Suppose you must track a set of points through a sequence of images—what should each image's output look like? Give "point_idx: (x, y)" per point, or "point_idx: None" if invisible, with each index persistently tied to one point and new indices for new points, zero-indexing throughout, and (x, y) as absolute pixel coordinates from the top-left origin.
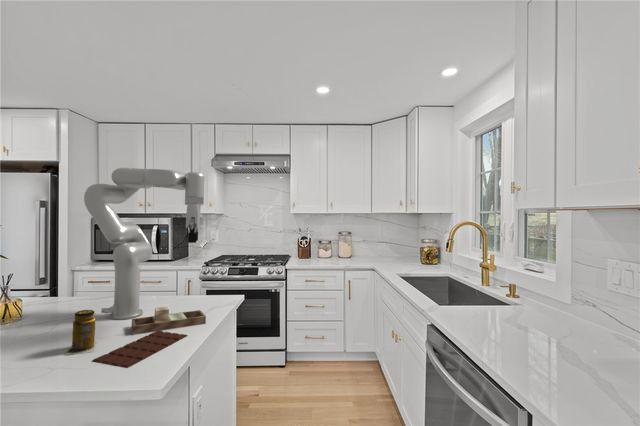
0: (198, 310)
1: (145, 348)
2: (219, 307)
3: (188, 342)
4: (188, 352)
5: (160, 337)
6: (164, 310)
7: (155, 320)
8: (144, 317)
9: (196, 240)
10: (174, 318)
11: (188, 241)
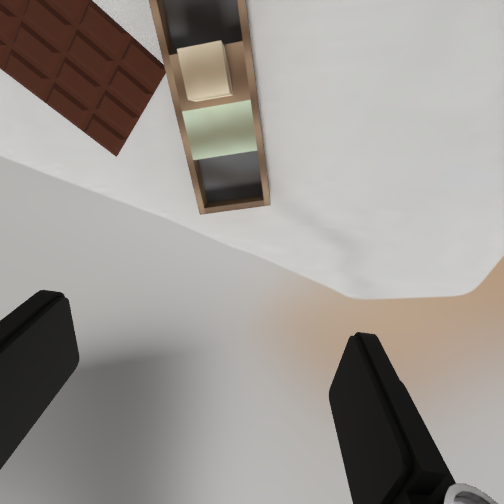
0: (266, 200)
1: (19, 38)
2: (343, 260)
3: (69, 155)
4: (8, 152)
5: (110, 80)
6: (184, 83)
7: None
8: (243, 6)
9: (330, 387)
10: (201, 121)
11: (34, 300)
